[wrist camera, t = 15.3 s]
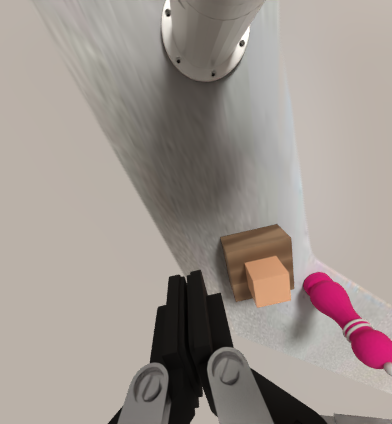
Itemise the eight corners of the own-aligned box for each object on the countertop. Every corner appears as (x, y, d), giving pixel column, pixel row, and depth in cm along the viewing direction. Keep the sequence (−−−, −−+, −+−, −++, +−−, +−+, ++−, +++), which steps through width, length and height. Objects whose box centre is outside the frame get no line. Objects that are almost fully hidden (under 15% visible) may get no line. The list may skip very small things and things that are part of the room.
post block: (220, 237, 43) (226, 253, 37) (277, 224, 42) (291, 238, 37) (229, 281, 47) (236, 301, 42) (281, 270, 47) (294, 288, 41)
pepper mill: (313, 298, 51) (388, 395, 32) (294, 285, 49) (363, 380, 30) (336, 279, 49) (430, 370, 30) (318, 264, 47) (406, 352, 28)
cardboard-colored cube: (244, 262, 38) (253, 281, 34) (276, 255, 38) (289, 273, 33) (248, 287, 41) (257, 307, 36) (278, 280, 40) (290, 300, 36)
